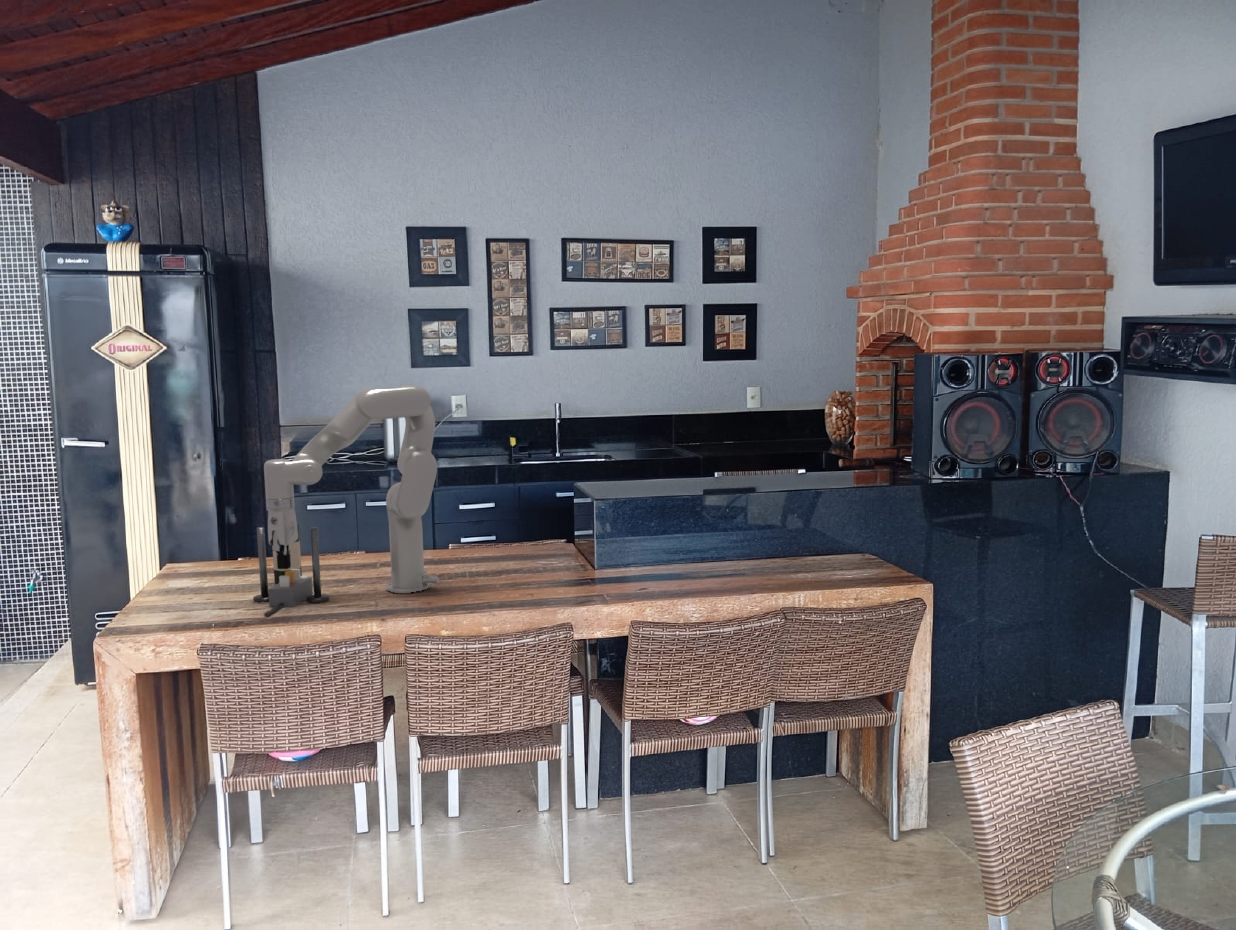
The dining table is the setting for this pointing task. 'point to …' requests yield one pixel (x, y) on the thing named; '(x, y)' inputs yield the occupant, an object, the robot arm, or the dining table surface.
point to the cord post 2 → (316, 570)
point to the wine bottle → (294, 559)
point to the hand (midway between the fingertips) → (284, 568)
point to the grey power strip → (289, 592)
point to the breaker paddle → (290, 576)
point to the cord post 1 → (262, 567)
